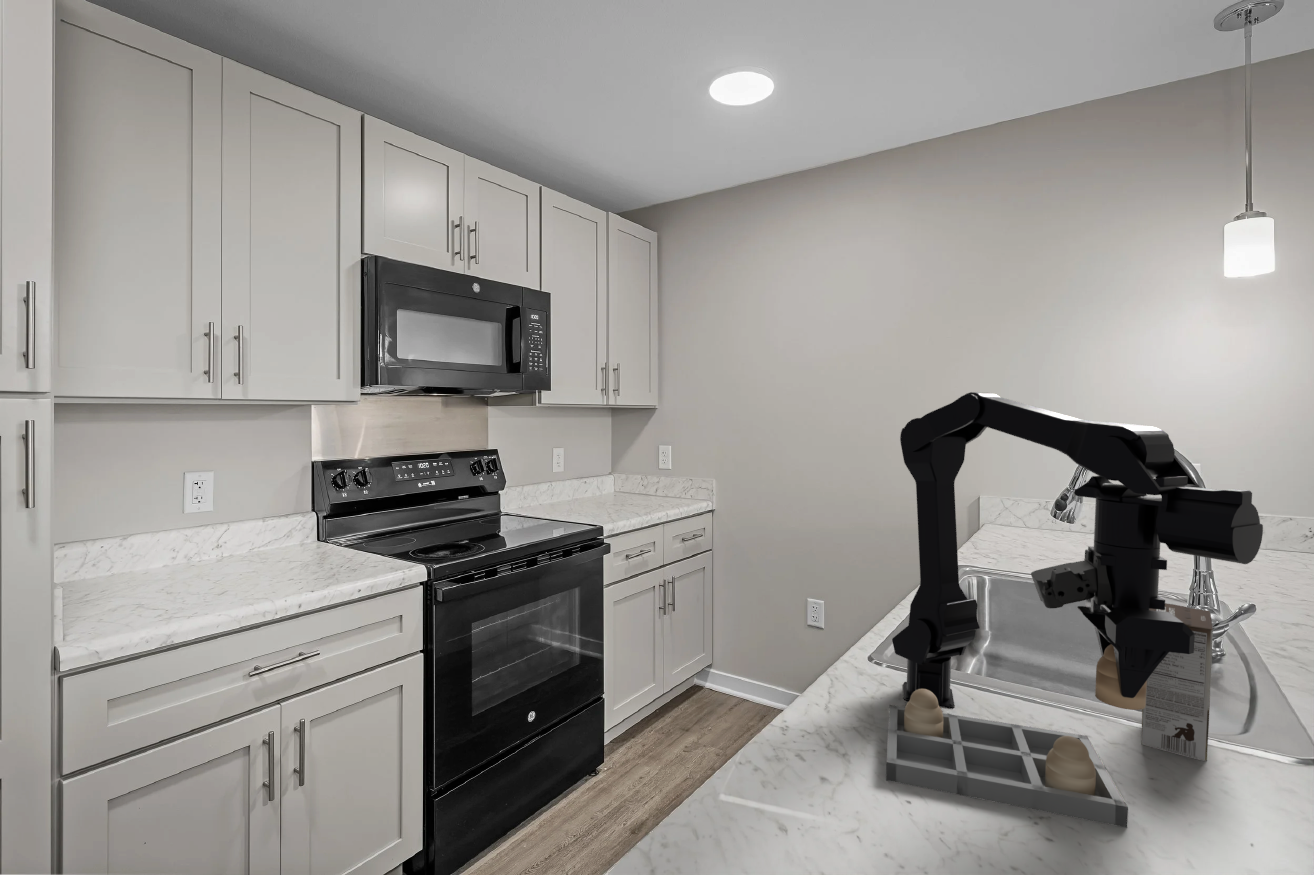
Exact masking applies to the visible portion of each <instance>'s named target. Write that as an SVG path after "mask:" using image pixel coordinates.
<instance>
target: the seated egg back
mask: <svg viewBox="0 0 1314 875" xmlns="http://www.w3.org/2000/svg"><path fill="white" fill-rule="evenodd" d="M904 707H905V712H904V732H910V733H916V734H922V735H927V736H933V737H939V738H943V713H944V712H943V711H942V707H939V705H938V700H937V698H936V696H935V695H934V694H933V693H932V692H931V691H929V690H927V689H918V690H916V691H914V692H913V693H912V695H911V697H910V701H909V702H907V703H906V705H905V706H904Z"/></svg>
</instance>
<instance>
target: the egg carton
mask: <svg viewBox="0 0 1314 875" xmlns="http://www.w3.org/2000/svg"><path fill="white" fill-rule="evenodd" d="M905 707H906V706H900V705H894V704H889V707H888V724H887V725H888V726H887V727H888V728H887V744H886V745H887V746H886V747H887V748H886V764H885V766H886V769H885V770H886V772H885V773H886V774H885V778H886V779H885V780H886V782H891V783H898V784H901V785H907V786H911V787H919V788H922V789H928V790H933V791H939V792H943V793H948V794H952V795H958V796H963V797H969V798H973V799H979V800H984V801H989V802H994V803H999V804H1003V805H1008V806H1015V807H1020V808H1024V809H1029V810H1034V811H1035V810H1036V811H1039V812H1045V813H1051V814H1054V815H1060V816H1064V817H1070V818H1073V819H1074V818H1075V819H1080V820H1086V821H1090V822H1096V823H1099V824H1100V823H1101V824H1104V825H1105V824H1107V825H1110V826H1115V827H1121V828H1126V829H1127V828H1128V817H1129V815H1128V814H1129V807H1128V805H1127V803H1126V801H1125V800H1124V797H1123V795H1122V794H1121V792H1120V791H1119V789H1118V787H1117V786H1116V783H1115V781H1114V780H1113V778H1112V776H1111V774H1110V773H1109V771H1108V769H1107V768H1106V766H1105V765H1104V763H1103V760H1102V759H1101V757H1100V756H1099V754H1098V752H1097V750H1096V749H1095V747H1094V745H1093V744H1092V742H1091V740H1090V738H1089V736H1088V735H1085V734H1078V733H1071V732H1066V731H1061V730H1059V731H1058V730H1052V729H1048V728H1047V729H1046V728H1039V727H1036V726H1035V727H1033V726H1027V725H1022V724H1021V725H1019V724H1016V723H1015V724H1014V723H1009V722H1008V723H1007V722H1003V721H995V720H990V719H989V720H988V719H983V718H976V717H970V716H964V715H959V714H952V713H951V714H950V713H945V712H942V713H943V738H939V737H933V736H927V735H922V734H916V733H910V732H904V712H905ZM1062 736H1072V737H1075V738H1077V739H1079V740H1080V741H1081V742H1083V744H1084V745H1085V746H1086V747H1087V749H1088V752H1089V757H1090V759H1091V760H1092V762H1093V764H1094V766H1095V770H1096V783H1095V796H1093V795H1087V794H1082V793H1077V792H1071V791H1066V790H1060V789H1055V788H1049V787H1045V774H1046V757H1047V755H1048V753H1049V751H1050V750H1051V749H1052V748H1053V745H1054V743H1055V741H1056V740H1057V739H1058V738H1060V737H1062Z"/></svg>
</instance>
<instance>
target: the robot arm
mask: <svg viewBox="0 0 1314 875" xmlns="http://www.w3.org/2000/svg"><path fill="white" fill-rule="evenodd" d="M987 428H988V429H992V430H995V431H998V432H1001V433H1004V434H1007V435H1011V436H1014V437H1017V438H1020V439H1023V440H1026V441H1028V442H1032V443H1035V444H1038V445H1040V446H1041V445H1042V446H1045V447H1047V448H1051V449H1053V450H1055V451H1059V452H1060V453H1061V454H1064V455H1066V456H1067V457H1068V458H1070V460H1071V461H1072V462H1074V463H1075V464H1077V465H1078V466H1080V467H1081V468H1083V469H1086V471H1089V472H1091V473H1093V474H1095V475H1092V476H1091V477H1090V478H1089V479H1088V480H1087V481H1086V483H1084V484H1082V485H1081V486H1079V487H1077V488H1076V489H1075V490H1074V491H1073V493H1074V496H1076V497H1082V498H1090V499H1095V511H1094V530H1093V533H1094V534H1093V546H1089V545H1088V546H1087V549H1085V550H1084V560H1079V561H1073V562H1066V563H1063V564H1062V563H1061V564H1057V565H1053V566H1048V567H1046V568H1040V569H1036V570H1033V571H1032V572H1030V575H1031V578H1032V581H1033V583H1034V586H1035V589H1036V592H1037V594H1038V598H1039V600H1040V601H1041V602H1042V603H1043V605H1044V606H1045V607H1046V608H1047V609H1058V608H1063V607H1064V606H1065V605H1070V604H1075V603H1078V602H1083V601H1085V605H1079V606H1077V607H1076V609H1077V610H1078V611H1079V612H1080V613H1081V614H1082V615H1083V616H1084V617H1085V618H1086V620H1088V621H1089V623H1091V624H1092V626H1093V627H1094V630H1095V634H1096V638H1097V642H1098V646H1099V650H1100V655H1101V657H1102V656H1103V655H1104V651H1105V649H1106V648H1107V647H1108V646H1109V645H1110V644H1112V645H1113V647H1114V653H1115V660H1116V667H1117V674H1118V682H1119V687H1120V693H1121V695H1122V696H1123V697H1127V698H1134V697H1135V696H1136V695H1137V693H1138V692H1139V690H1140V689H1141V688H1142V686H1143V685H1144V684H1145V682H1146V681H1147V679H1148V678H1149V677H1150V675H1151V674H1152V672H1153V671H1154V670H1155V669H1156V667H1157V666H1158V665H1159V664H1160V662H1161V661H1162V660H1163V659H1164V658H1165V657H1166V655H1167V654H1168V653H1169V652H1174V653H1183V654H1192V653H1194V639H1195V633H1194V632H1193V631H1192V630H1191V629H1190V628H1188V627H1187V626H1186V625H1185V624H1184V623H1183V622H1182V621H1180V620H1179V619H1178V618H1176V617H1175V616H1174V615H1172V614H1171V613H1169V612H1162V611H1151V610H1149V608H1150V609H1160V610H1165V603H1166V600H1165V599H1164V598H1163V597H1161V596H1160V595H1159V582H1160V581H1159V578H1160V570H1161V571H1162V570H1163V571H1167V570H1168V559H1166V558H1163V556H1161V555H1160V554H1161V544H1165V545H1166V547H1167V548H1168V549H1169V550H1170V551H1171V552H1173V553H1179V554H1185V555H1191V556H1195V557H1200V558H1201V557H1203V558H1207V559H1213V560H1219V561H1225V562H1230V563H1236V564H1241V565H1248V564H1250V563H1251V562H1253V561H1254V560H1255V559H1256V556H1257V555H1258V553H1259V551H1260V548H1261V544H1262V542H1263V534H1264V532H1263V531H1264V525H1263V524H1262V523H1261V520H1260V515H1259V511H1258V510H1257V507H1256V506H1255V505H1254V504H1253V492H1252V491H1251V490H1249V489H1239V488H1238V489H1235V488H1232V489H1217V488H1216V489H1214V488H1205V487H1200V485H1199V484H1198V483H1197V481H1196V480H1195V479H1194V478H1193V476H1192V475H1191V473H1189V471H1188V470H1187V468H1185V466H1184V465H1183V463H1182V462H1181V461H1180V459H1179V458H1178V457H1177V456H1176V455H1175V454H1176V453H1175V447H1174V443H1173V442H1172V440H1171V438H1170V437H1169V434H1168V433H1167V432H1165V431H1164V430H1163V429H1161V428H1158V427H1156V426H1152V425H1146V424H1145V425H1144V424H1143V425H1142V424H1133V423H1124V422H1109V421H1098V420H1097V421H1096V420H1087V419H1082V418H1081V419H1080V418H1077V417H1074V416H1070V415H1066V414H1064V413H1059V412H1055V411H1051V410H1050V409H1049V410H1048V409H1045V408H1041V407H1037V406H1034V405H1030V404H1027V403H1024V402H1020V401H1017V400H1013V399H1009V398H1004V397H1001V396H999V395H998V394H996V393H994V392H978V391H977V392H976V391H975V392H974V391H973V392H972V391H971V392H968V393H965V394H963V395H961V396H960V397H958V398H957V399H956V400H954V401H952V402H951V403H948V404H945V405H943V406H942V407H939V408H936V409H935V410H932V411H930V412H928V413H926V414H924V415H923V416H921V417H917V418H916V417H915V418H913V419H911V420H910V421H908V422H907V423H906V424H905V426H904V427H903V428H902V429H901V430H900V436H899V438H900V439H899V441H900V447H901V452H902V453H901V454H902V457H903V463H904V465H905V466H906V468H907V470H908V472H909V473H910V475H911V476H912V478H913V480H914V481H915V482H914V483H915V490H916V492H915V494H916V510H917V512H916V514H917V530H918V531H917V532H918V559H919V578H920V579H919V580H920V581H919V582H920V583H919V586H918V588H917V590H916V592H915V594H914V597H913V599H912V601H911V603H910V605H909V615H908V616H909V618H908V625H907V626H906V627H904V628H903V629H902V630H901V631H900V632H899V633H897V634H896V635H895V636H893V637H892V638H891V639H892V646H893V650H894V653H895V655H896V656H899V657H902V658H904V659H906V664H907V665H906V681H904V682H903V701H904V702H907V703H908V702H909V701H910V697H911V695H912V693H913V692H914V691H916V690H918V689H927V690H929V691H931V692H932V693H933V694H934V695H935V696H936V698H937V700H938V705H939V707H940V708H945V709H946V708H947V709H952V710H953V709H955V700H954V694H953V690H952V688H951V679H952V678H951V677H952V676H951V673H952V671H951V670H952V657H953V658H954V657H957V656H963V655H964V653H965V651H966V649H967V647H968V645H969V644H970V643H972V641H974V639H975V638H976V630H980V624H979V622H978V616H977V614H978V602H977V599H975V598H968V597H967V596H966V594H965V592H964V591H963V589H962V588H961V586H960V580H959V576H960V575H959V556H958V555H959V554H958V537H957V516H956V514H957V513H956V496H955V495H956V494H955V481H956V478H957V476H958V474H959V472H960V470H961V469H962V466H963V464H964V462H965V458H966V456H965V455H966V445H967V444H969V443H971V442H972V441H974V440H976V439H978V438H979V437H980V436H981V435H982V434H983V433H984V432H985V431H986V429H987ZM1111 481H1114V482H1117V481H1118V482H1119V483H1120V484H1119V483H1112V482H1111ZM1157 496H1161V497H1157Z"/></svg>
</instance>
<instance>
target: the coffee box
mask: <svg viewBox="0 0 1314 875" xmlns="http://www.w3.org/2000/svg"><path fill="white" fill-rule="evenodd" d="M1149 610H1151V611H1162V612H1169V613H1171V614H1172V615H1174V616H1175V617H1176V618H1178V619H1179V620H1180V621H1182V622H1183V623H1184V624H1185V625H1186V626H1187V627H1188V628H1190V629H1191V630H1192V631H1193V632H1194V633H1195V639H1194V653H1192V654H1183V653H1174V652H1169V653H1168V654H1167V655H1166V657H1165V658H1164V659H1163V660H1162V661H1161V662H1160V664H1159V665H1158V666H1157V667H1156V669H1155V670H1154V671H1153V672H1152V674H1151V675H1150V677H1149V678H1148V679H1147V685H1146V706H1145V708H1144V709H1141V733H1140V734H1141V736H1140V737H1141V740H1140V741H1141V745H1143V746H1146V747H1151V748H1153V749H1158V750H1160V751H1164V752H1169V753H1173V754H1176V755H1180V756H1184V757H1187V758H1191V759H1195V760H1199V761H1203V762H1207V761H1208V747H1209V746H1208V743H1209V728H1210V727H1209V726H1210V710H1211V707H1210V706H1211V686H1212V661H1213V658H1212V657H1213V634H1214V628H1213V620H1212V615H1211V611H1210V610H1205V609H1198V608H1192V607H1188V606H1185V605H1178V604H1173V603H1166V602H1165V610H1160V609H1150V608H1149Z"/></svg>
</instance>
